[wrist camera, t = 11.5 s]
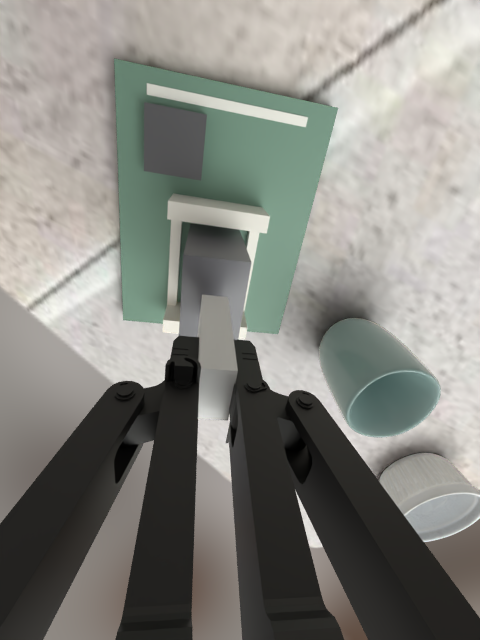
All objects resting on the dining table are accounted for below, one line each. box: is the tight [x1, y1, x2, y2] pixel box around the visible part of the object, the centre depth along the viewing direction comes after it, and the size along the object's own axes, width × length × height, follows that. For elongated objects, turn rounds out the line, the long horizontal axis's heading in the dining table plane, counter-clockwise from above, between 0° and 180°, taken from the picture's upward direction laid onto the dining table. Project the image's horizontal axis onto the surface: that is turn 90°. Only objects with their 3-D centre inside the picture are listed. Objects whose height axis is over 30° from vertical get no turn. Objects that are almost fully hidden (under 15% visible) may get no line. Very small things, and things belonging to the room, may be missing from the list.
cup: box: [319, 318, 441, 437], centre depth 28 cm, size 8×8×10 cm
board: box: [114, 58, 338, 339], centre depth 23 cm, size 19×15×5 cm
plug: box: [179, 224, 252, 340], centre depth 23 cm, size 7×4×8 cm, turn 172°
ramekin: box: [379, 453, 480, 542], centre depth 45 cm, size 13×13×7 cm
